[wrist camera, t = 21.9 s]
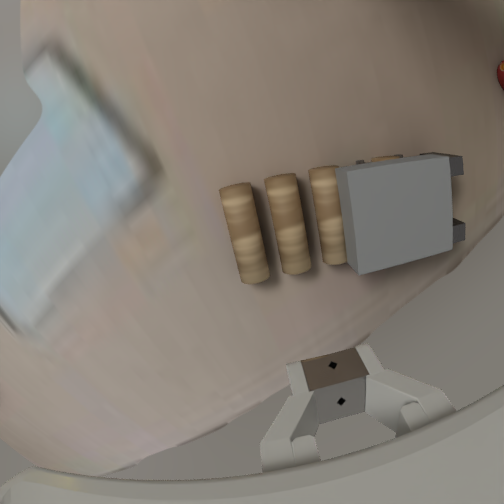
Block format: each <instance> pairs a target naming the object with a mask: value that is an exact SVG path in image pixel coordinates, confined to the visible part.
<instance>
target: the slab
mask: <svg viewBox="0 0 504 504" xmlns="http://www.w3.org/2000/svg"><path fill="white" fill-rule="evenodd" d="M335 173H336V179H337V185H338V192H339V198H340V205H341V212H342V220H343V227H344V235H345V244H346V253H347V262H348V264H349V265H350V266H351V267H352V268H353V270H354V271H355V272H356V273H357V274H358V275H362V274H366V273H370V272H374V271H378V270H381V269H385V268H389V267H392V266H396V265H400V264H403V263H407V262H411V261H414V260H418V259H421V258H425V257H428V256H432V255H435V254H438V253H442V252H445V251H449V250H452V248H453V214H452V189H451V175H450V163H449V156H441V155H434V154H428V155H420V156H413V157H405V158H398V159H391V160H384V161H377V162H371V163H365V164H358V165H352V166H346V167H341V168H335Z"/></svg>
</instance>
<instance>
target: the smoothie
mask: <svg viewBox="0 0 504 504" xmlns="http://www.w3.org/2000/svg"><path fill="white" fill-rule="evenodd" d="M497 76H498V80H499V82H500V85H501V87H502V88H503V89H504V61H502V63H501V64H500V65H499V66H498V69H497Z"/></svg>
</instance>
